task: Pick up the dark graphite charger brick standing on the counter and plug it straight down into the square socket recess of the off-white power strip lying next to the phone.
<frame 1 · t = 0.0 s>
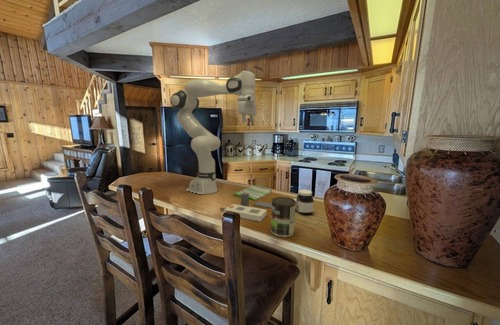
hand: (247, 122, 132), 48 cm above the breakfast bar counter, fingers open, 8 cm apart
coffee can: (282, 231, 94), on the breakfast bar counter
phone slab: (266, 206, 125), on the breakfast bar counter
spread jar: (300, 212, 116), on the breakfast bar counter
charger plug: (244, 207, 122), on the breakfast bar counter
dish towel: (253, 195, 146), on the breakfast bar counter
power strip: (245, 215, 111), on the breakfast bar counter
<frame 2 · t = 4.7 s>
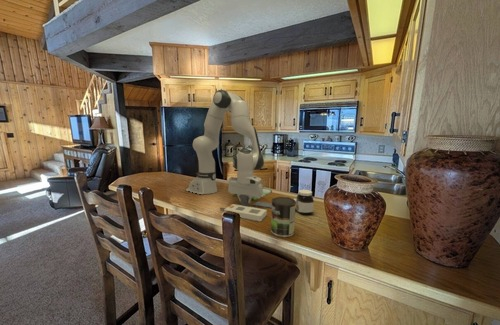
hand: (244, 202, 121), 3 cm above the breakfast bar counter, fingers closed on charger plug, 3 cm apart
charger plug: (244, 207, 122), on the breakfast bar counter, touching gripper
everything else where it was.
when the fingers open (4 cm above the breakfast bar counter, at t = 10.0 s): charger plug stays where it is, resting on power strip.
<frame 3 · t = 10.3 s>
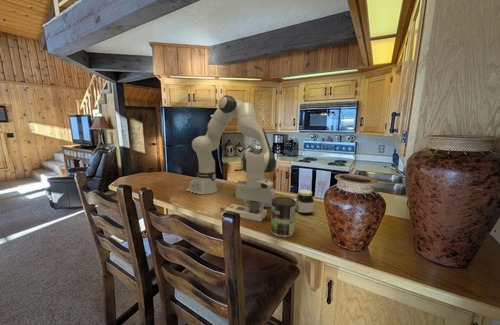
hand: (254, 208, 108), 4 cm above the breakfast bar counter, fingers open, 6 cm apart
charger plug: (254, 215, 109), point 1 cm above the breakfast bar counter, touching power strip
everything else where it was.
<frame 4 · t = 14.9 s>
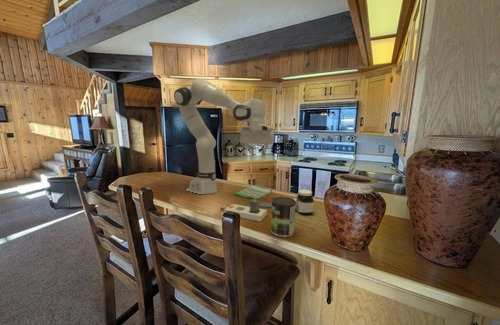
hand: (256, 151, 124), 31 cm above the breakfast bar counter, fingers open, 8 cm apart
nothing on the breakfast bar counter moved.
at the end: charger plug 0.1 cm from the target spot on the power strip, point 0.5 cm above the power strip's base; charger plug tilted 0°; the gripper is holding nothing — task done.
